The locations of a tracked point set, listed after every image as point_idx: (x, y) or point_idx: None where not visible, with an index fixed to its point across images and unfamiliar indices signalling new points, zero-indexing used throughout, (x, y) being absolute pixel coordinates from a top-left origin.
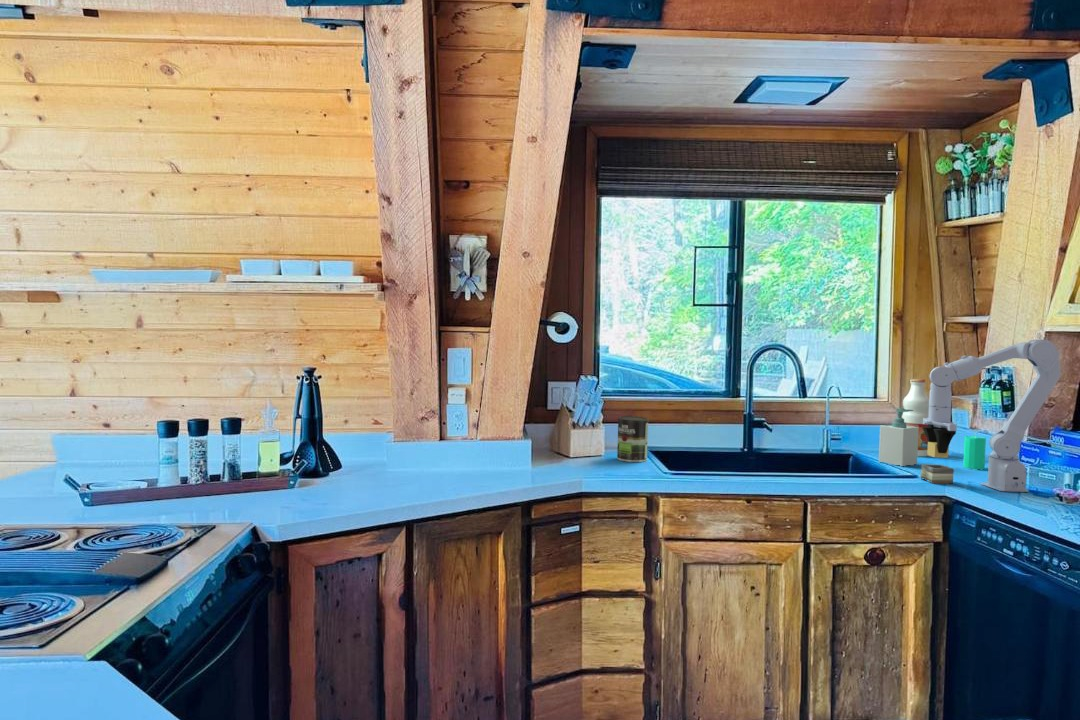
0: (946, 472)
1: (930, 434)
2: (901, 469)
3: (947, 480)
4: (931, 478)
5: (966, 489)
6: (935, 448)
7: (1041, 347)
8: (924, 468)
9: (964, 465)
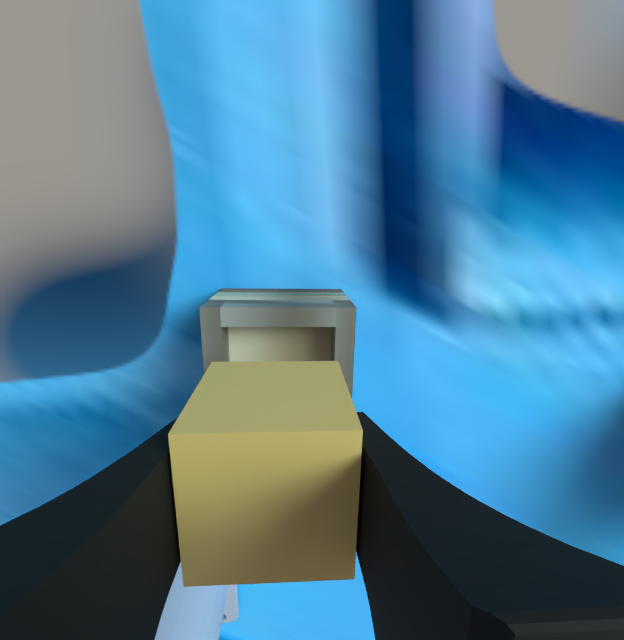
0: None
1: (402, 558)
2: (600, 319)
3: None
4: (223, 293)
5: (98, 395)
6: (188, 408)
7: None
8: (308, 302)
9: None
